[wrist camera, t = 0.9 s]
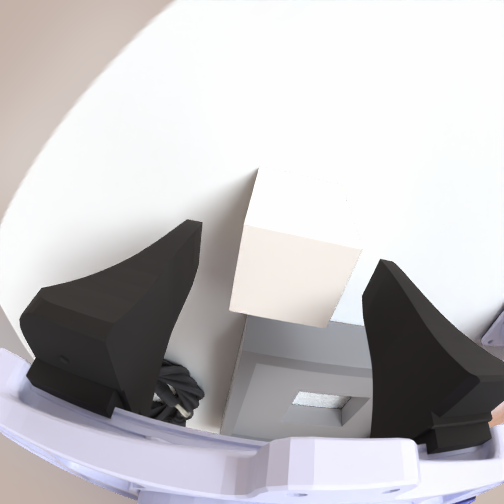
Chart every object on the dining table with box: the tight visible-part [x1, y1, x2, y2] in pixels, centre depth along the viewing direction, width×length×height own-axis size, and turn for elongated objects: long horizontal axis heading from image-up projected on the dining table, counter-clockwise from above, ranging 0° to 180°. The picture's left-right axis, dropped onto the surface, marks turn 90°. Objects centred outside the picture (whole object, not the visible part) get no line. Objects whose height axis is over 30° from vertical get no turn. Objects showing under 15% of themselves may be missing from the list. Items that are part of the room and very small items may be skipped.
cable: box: [149, 360, 205, 427], centre depth 26 cm, size 17×14×4 cm
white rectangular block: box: [229, 167, 362, 328], centre depth 13 cm, size 4×4×6 cm
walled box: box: [220, 314, 373, 442], centre depth 23 cm, size 16×18×4 cm
